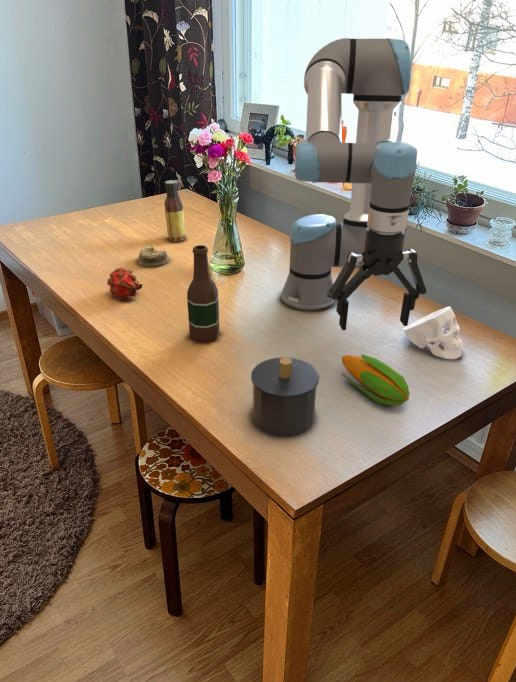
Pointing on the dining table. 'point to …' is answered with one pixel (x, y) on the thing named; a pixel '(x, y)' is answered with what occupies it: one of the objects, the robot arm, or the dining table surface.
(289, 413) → the pot
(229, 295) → the dining table surface
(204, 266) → the beer bottle
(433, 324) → the skull bowl
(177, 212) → the sauce bottle
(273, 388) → the pot lid
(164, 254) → the grey rough lump
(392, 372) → the corn
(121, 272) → the dragon fruit
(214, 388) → the dining table surface
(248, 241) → the dining table surface
